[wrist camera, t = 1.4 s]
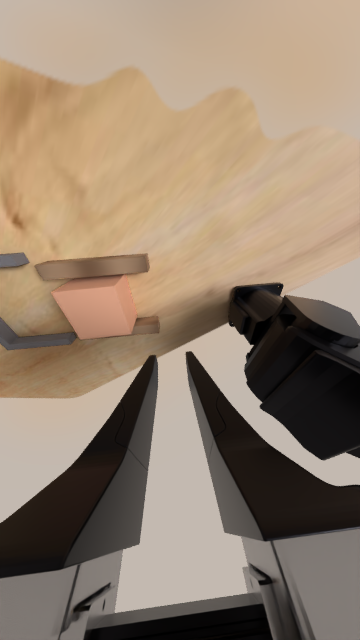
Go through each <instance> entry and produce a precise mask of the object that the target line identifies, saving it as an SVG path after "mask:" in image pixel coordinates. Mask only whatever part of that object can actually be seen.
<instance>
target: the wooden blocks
mask: <svg viewBox="0 0 360 640" xmlns="http://www.w3.org/2000/svg"><path fill="white" fill-rule="evenodd" d="M34 266H35V268H36V269H37V271H38V273H39V274H40V276H41V277H42V279H43V280H54V279H66V278H79V277H91V276H104V275H116V274H128V273H141V272H148V271H149V268H150V265H149V260H148V254H134V255H121V256H108V257H95V258H82V259H69V260H56V261H47V262H44V263H41V264H37V265H34ZM159 328H160V323H159V317H158V316H157V317H146V318H136V321H135V324H134V327H133V330H132V333H131V334H128V335H119V336H109V337H120V336H131V335H142V334H153V333H159ZM75 333H76V332H75ZM76 334H77V333H76ZM77 336H78V335H77ZM78 337H79V336H78ZM109 337H100V338H109ZM79 339H80V338H79ZM90 339H99V338H90ZM80 340H88V339H80Z"/></svg>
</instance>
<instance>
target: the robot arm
mask: <svg viewBox="0 0 360 640" xmlns="http://www.w3.org/2000/svg"><path fill="white" fill-rule="evenodd" d="M278 286H279V287H278ZM238 289H240V290H239V291H237V290H238ZM282 289H283V284H281V283H269V284H257V285H245V286H237V287H236V288H235V289H234V295H233V301H232V302H231V305H230V311H229V325H230V326H231V327H234V326H235V328H236V329H237V331H238V332H239V333H240V334H241V335H244V336H245V338H246V339H247V341H248V342H249V343H250V345H254V346H253V348H252V349H251V351H250V352H249V353H247V355H246V360H247V363H246V364H245V370H244V372H245V375H246V378H247V382H246V383H247V385H248V387H249V388H250V390H251V391H252V392H253V393H254V394H255V396H256V397H257V398H258V399H259V400H260V401H262V402H263V403H262V404H261V405H260V408H261V409H262V410H263V411H265V412H267V413H268V414H270V415H272V416H273V417H274V418H276V419H277V420H278V421H279V422H280V423H282V424H283V425H284V426H285V427H286V428H287V429H288V431H290V433H291V434H292V435H293V436H294V437H295V438H296V439H297V440H298V442H299V443H300V444H301V445H302V446H303V447H304V448H305V449H306V450H308V451H309V452H311V453H312V454H314V455H315V456H316V457H318V458H319V459H321V460H326V459H329V458H332V457H335V456H337V455H340V454H342V453H345V452H346V453H348V454H351V455H353V456H355V457H358V458H360V326H359V325H358V323H357V322H356V320H355V319H354V317H353V316H352V314H351V313H350V312H348V311H346V310H344V309H341V308H339V307H336V306H334V305H331V304H329V303H327V302H324V301H319V300H313V299H307V298H301V297H295V296H288V295H285V296H284V297H281V296H280V294H281V292H282ZM232 323H233V324H232ZM186 364H187V373H188V381H189V387H190V391H191V395H192V399H193V403H194V408H195V412H196V416H197V420H198V424H199V428H200V432H201V437H202V441H203V445H204V449H205V453H206V457H207V462H208V466H209V470H210V474H211V477H212V482H213V487H214V490H215V495H216V499H217V503H218V507H219V511H220V516H221V520H222V524H223V528H224V532H225V533H229V534H233V535H238V536H241V538H242V542H243V546H244V550H245V554H246V559H247V563H248V567H243V573H244V577H245V582H246V587H247V591H248V593H247V594H241V595H234V596H227V597H220V598H215V599H207V600H200V601H194V602H187V603H180V604H173V605H167V606H160V607H154V608H146V609H140V610H134V611H126V612H120V613H114V612H115V605H116V598H117V590H118V583H119V575H120V568H121V561H122V553H123V549H126V548H129V547H132V546H135V545H138V544H139V543H140V534H141V526H142V518H143V509H144V500H145V492H146V484H147V475H148V472H147V471H148V466H149V458H150V449H151V441H152V432H153V424H154V415H155V407H156V398H157V389H158V362H157V358H156V355H150V356H149V357H148V359H147V360H146V362H145V363H144V365H143V367H142V368H141V370H140V371H139V373H138V374H137V376H136V377H135V379H134V381H133V382H132V384H131V385H130V387H129V388H128V390H127V391H126V393H125V394H124V396H123V397H122V399H121V401H120V402H119V404H118V405H117V407H116V408H115V410H114V411H113V413H112V414H111V416H110V417H109V419H108V420H107V421H106V423H105V424H104V425H103V427H102V428H101V429H100V431H99V432H98V433H97V434H96V436H95V437H94V438H93V440H92V441H91V442H90V443H89V445H88V446H87V447H86V449H85V450H84V451H83V453H82V454H81V455H80V456H79V458H78V459H77V460H76V461H75V462H74V463H73V464H72V465H71V466H70V467H69V468H68V469H67V470H66V471H65V472H64V473H62V474H61V475H60V476H59V477H57V478H56V479H55V480H54V481H52V482H51V483H50V484H49V485H48V486H46V487H45V488H44V489H43V490H41V491H40V492H39V493H38V494H37V495H35V496H34V497H33V498H32V499H30V500H29V501H28V502H27V503H26V504H24V505H23V506H22V507H21V508H20V509H18V510H17V511H16V512H15V513H13V514H12V515H11V516H9V517H8V518H7V519H6V520H4V521H3V522H1V523H0V640H360V485H348V486H334V485H331V484H328V483H326V482H324V481H322V480H320V479H319V478H317V477H315V476H314V475H313V474H311V473H310V472H308V471H307V470H305V469H304V468H302V467H301V466H299V465H298V464H297V463H295V462H294V461H292V460H291V459H289V458H288V457H286V456H285V455H283V454H282V453H281V452H279V451H278V450H276V449H275V448H273V447H272V446H271V445H269V444H268V443H267V442H266V441H265V440H264V439H263V438H261V437H260V436H259V434H258V433H257V432H256V431H255V430H254V429H253V428H252V427H251V426H250V425H249V424H248V423H247V421H246V420H245V419H244V418H243V417H242V416H241V415H240V414H239V413H238V411H236V409H235V408H234V407H233V406H232V405H231V403H230V402H229V401H228V400H227V398H226V397H225V396H224V394H223V393H222V392H221V391H220V389H219V388H218V387H217V385H216V384H215V382H214V381H213V380H212V378H211V377H210V376H209V374H208V373H207V372H206V370H205V369H204V367H203V366H202V365H201V364H200V362H199V361H198V359H197V358H196V357H195V356H194V354H193V353H192V352H191V351H189V352H186Z"/></svg>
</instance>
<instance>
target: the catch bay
mask: <svg viewBox="0 0 360 640" xmlns="http://www.w3.org/2000/svg"><path fill="white" fill-rule="evenodd" d="M26 263H30V262H29V261H28V259H27V258H26V256H25V254H24V253H12V254H0V267H10V266H19V265H23V264H26ZM76 338H77V337H76V336H75V334H74V333H62V334H51V335H40V336H29V337H18V336H17V335H16V334H15V333H14V332H13V331H12V330H11V329H10V327H9V326H8V325H7V324H6V323H5V322H4V321H3V320H2V319H1V318H0V344H1V345H2V346H4V347H5V348H6V349H7V350H15V349H26V348H37V347H47V346H58V345H69V344H72V343H73V341H74V340H75V339H76Z"/></svg>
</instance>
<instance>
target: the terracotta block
mask: <svg viewBox="0 0 360 640" xmlns="http://www.w3.org/2000/svg"><path fill="white" fill-rule="evenodd" d="M51 294H52V295H53V297H54V299H55V300H56V302H57V303H58V305H59V306H60V308H61V310H62V311H63V313H64V314H65V316H66V317H67V319H68V321H69V322H70V324H71V325H72V327H73V328H74V330H75V332H76V333H77V335H78V336H79V338H80V339H90V338H100V337H109V336H119V335H128V334H131V333H132V330H133V327H134V324H135V321H136V318H137V311H136V308H135V305H134V301H133V298H132V294H131V291H130V287H129V284H128V280H127V277H126V274H116V275H104V276H91V277H79V278H74V279H72V280H71V281H69V282H67V283H66V284H64V285H62V286H61V287H59V288H57V289H55V290H54V291H52V292H51Z"/></svg>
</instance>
